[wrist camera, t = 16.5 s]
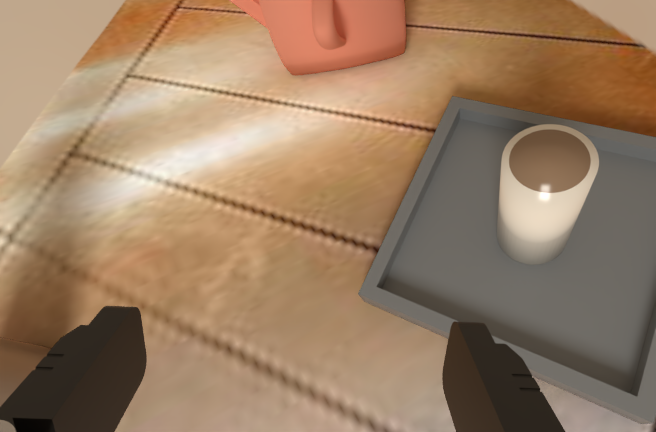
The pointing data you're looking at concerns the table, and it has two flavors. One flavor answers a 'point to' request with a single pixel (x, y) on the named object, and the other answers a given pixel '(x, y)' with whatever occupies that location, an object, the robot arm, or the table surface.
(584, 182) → the cream cup
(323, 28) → the teapot
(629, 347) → the charcoal tray
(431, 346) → the table surface
